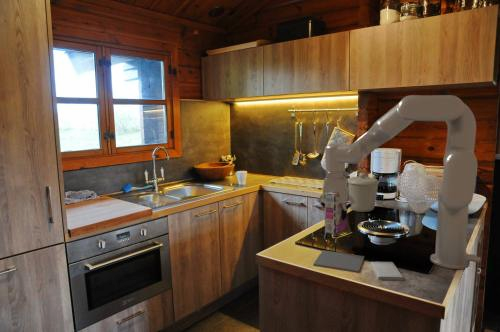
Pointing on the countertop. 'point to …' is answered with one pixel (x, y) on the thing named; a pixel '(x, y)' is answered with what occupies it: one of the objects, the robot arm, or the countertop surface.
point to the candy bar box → (334, 214)
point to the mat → (339, 261)
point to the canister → (363, 192)
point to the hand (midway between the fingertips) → (336, 218)
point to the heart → (425, 179)
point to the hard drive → (386, 271)
